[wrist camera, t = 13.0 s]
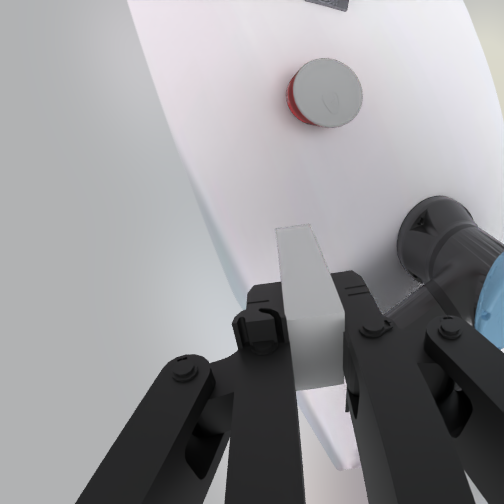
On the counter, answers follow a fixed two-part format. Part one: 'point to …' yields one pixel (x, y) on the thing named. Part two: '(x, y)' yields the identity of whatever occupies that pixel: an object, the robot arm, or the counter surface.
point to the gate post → (332, 3)
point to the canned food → (325, 93)
